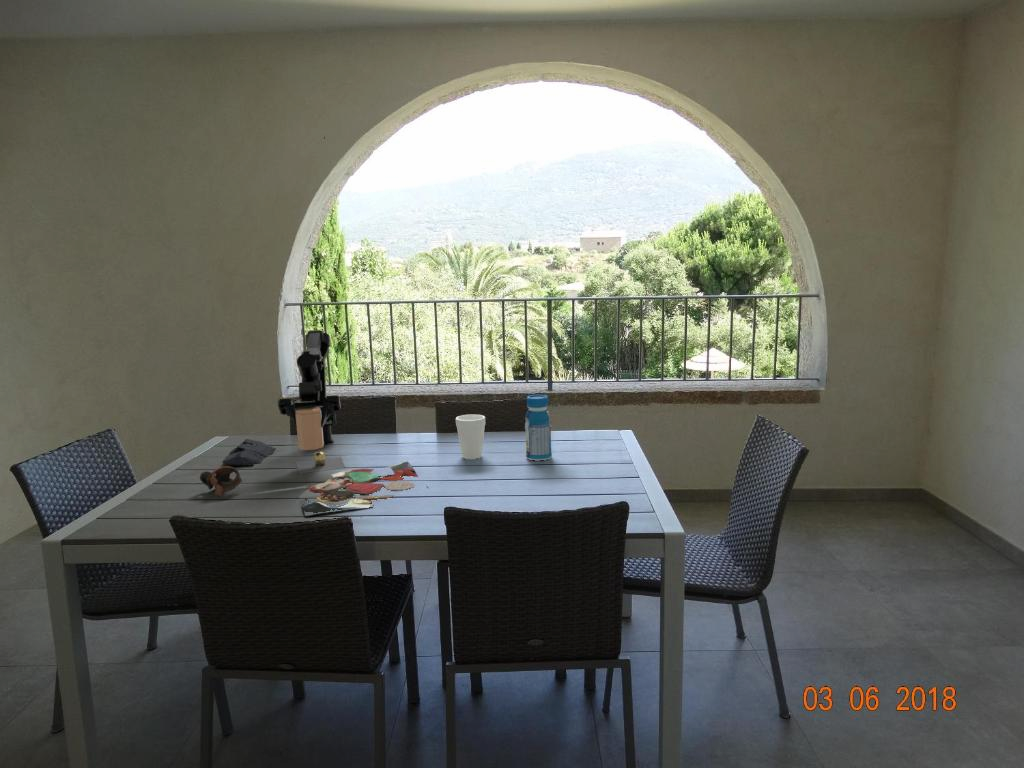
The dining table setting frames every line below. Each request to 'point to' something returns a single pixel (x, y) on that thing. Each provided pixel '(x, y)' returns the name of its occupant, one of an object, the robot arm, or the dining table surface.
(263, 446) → the dark slate chunk
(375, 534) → the dining table surface
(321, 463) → the brass weight
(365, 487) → the colorful flat pile
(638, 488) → the dining table surface
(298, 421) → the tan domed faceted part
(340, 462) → the charcoal mat
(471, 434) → the foam cup
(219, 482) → the brown rounded piece
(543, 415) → the beverage bottle
